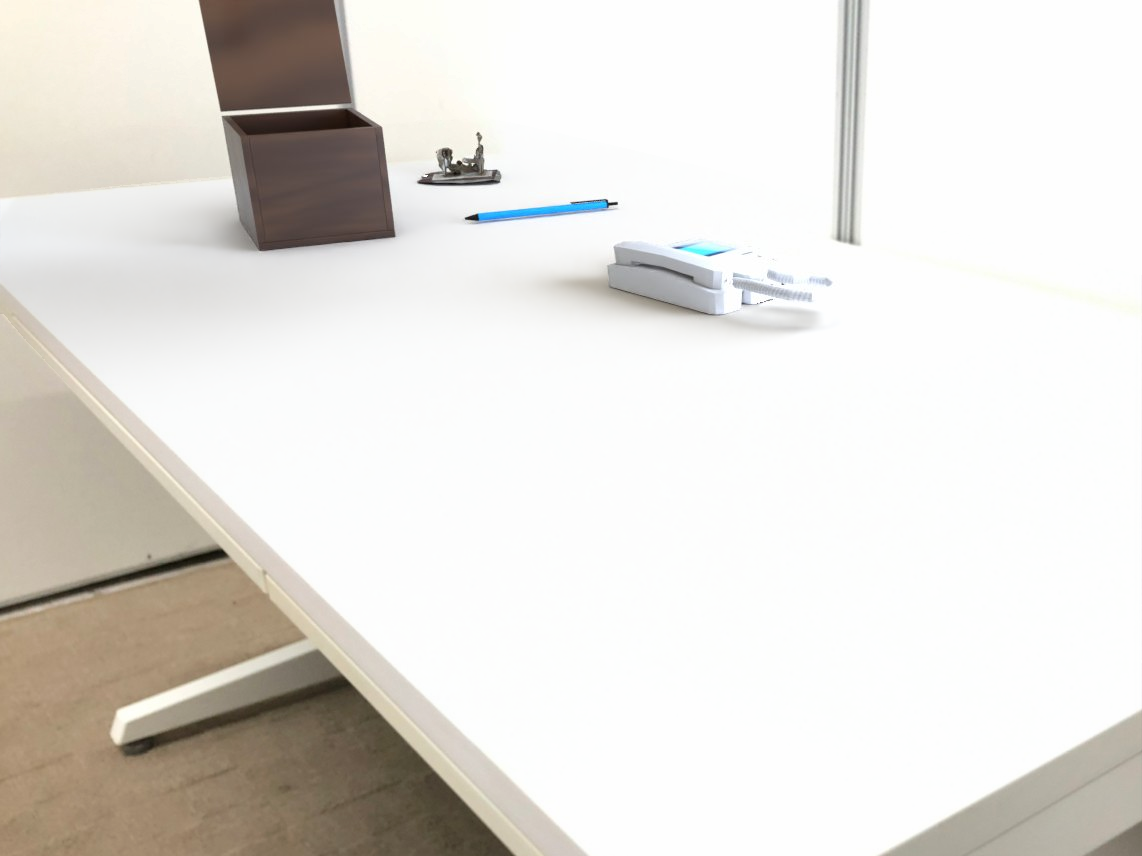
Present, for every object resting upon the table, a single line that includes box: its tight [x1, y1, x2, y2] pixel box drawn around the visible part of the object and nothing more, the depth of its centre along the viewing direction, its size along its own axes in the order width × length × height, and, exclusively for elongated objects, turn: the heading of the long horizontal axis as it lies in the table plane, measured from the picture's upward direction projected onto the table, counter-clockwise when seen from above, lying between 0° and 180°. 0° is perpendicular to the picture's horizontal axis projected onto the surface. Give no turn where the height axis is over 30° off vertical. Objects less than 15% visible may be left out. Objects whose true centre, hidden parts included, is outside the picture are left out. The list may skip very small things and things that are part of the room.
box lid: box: [198, 0, 353, 113], centre depth 149 cm, size 17×15×1 cm
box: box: [221, 106, 396, 251], centre depth 147 cm, size 17×15×12 cm
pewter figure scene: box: [417, 131, 502, 184], centre depth 175 cm, size 12×6×11 cm
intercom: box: [606, 238, 841, 316], centre depth 122 cm, size 13×4×25 cm
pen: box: [462, 198, 619, 222], centre depth 155 cm, size 1×19×1 cm, turn 116°
